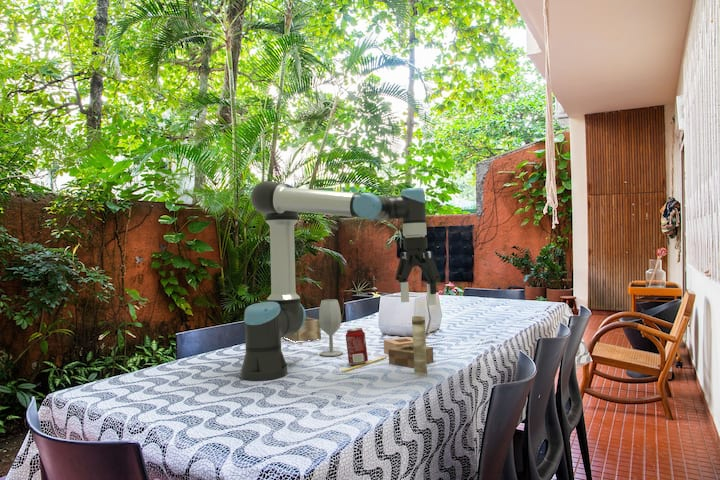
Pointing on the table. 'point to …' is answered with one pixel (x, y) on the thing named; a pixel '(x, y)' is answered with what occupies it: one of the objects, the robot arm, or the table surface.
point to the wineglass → (330, 323)
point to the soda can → (356, 346)
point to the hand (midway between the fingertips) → (418, 303)
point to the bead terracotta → (396, 343)
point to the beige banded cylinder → (419, 345)
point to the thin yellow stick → (363, 364)
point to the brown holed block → (407, 355)
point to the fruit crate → (307, 331)
